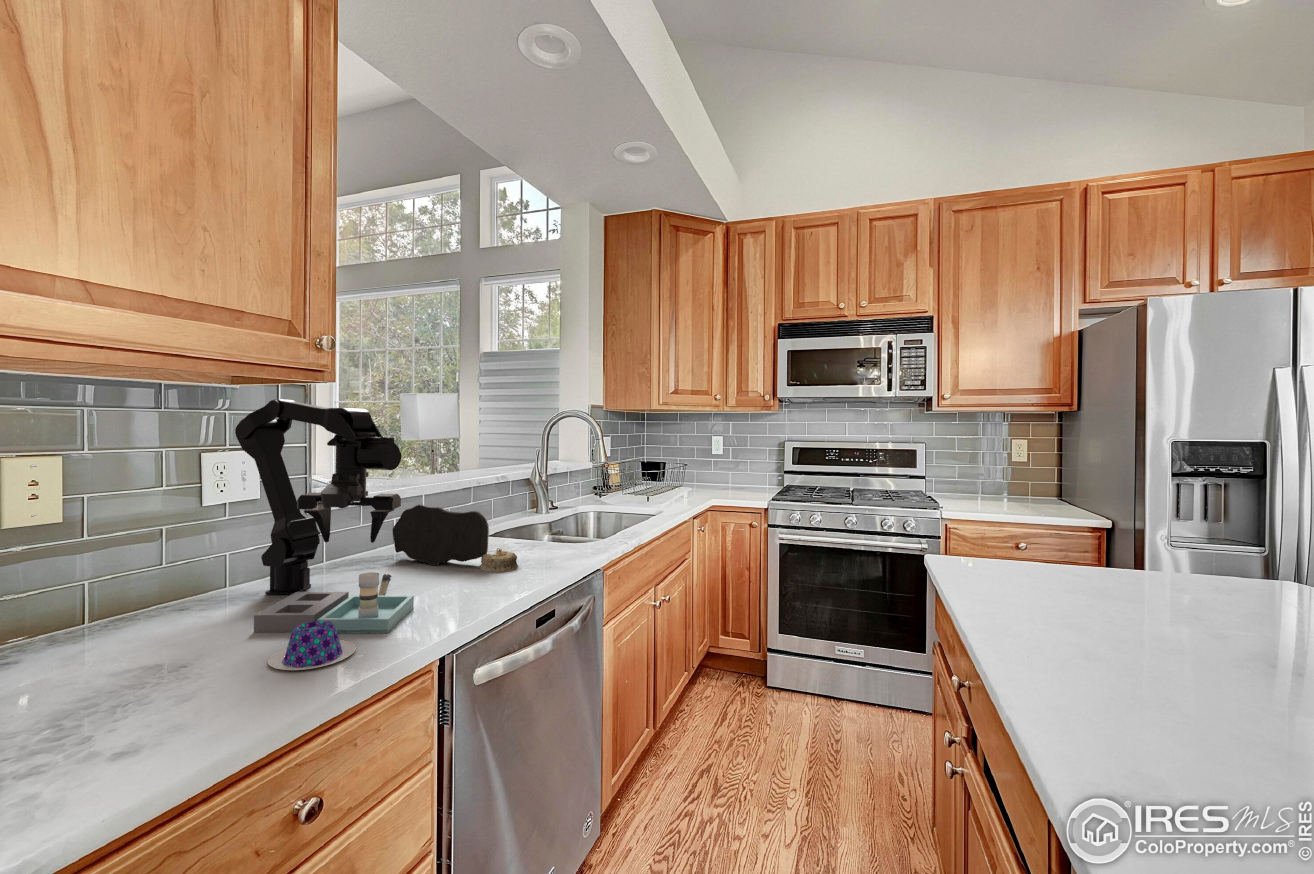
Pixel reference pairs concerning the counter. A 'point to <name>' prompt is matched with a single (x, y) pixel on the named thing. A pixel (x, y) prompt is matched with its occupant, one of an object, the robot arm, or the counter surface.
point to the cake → (499, 561)
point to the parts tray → (388, 618)
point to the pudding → (312, 647)
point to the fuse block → (297, 610)
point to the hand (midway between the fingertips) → (349, 542)
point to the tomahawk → (384, 584)
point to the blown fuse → (368, 595)
